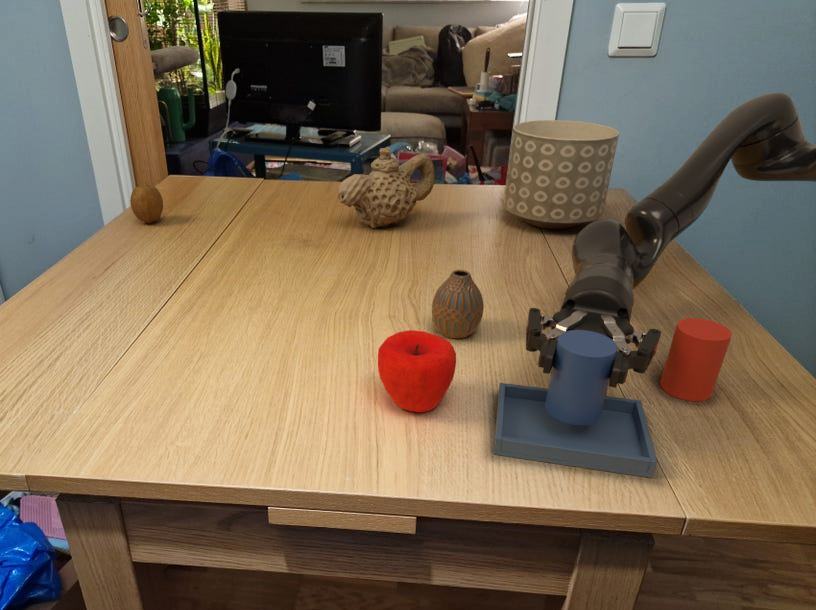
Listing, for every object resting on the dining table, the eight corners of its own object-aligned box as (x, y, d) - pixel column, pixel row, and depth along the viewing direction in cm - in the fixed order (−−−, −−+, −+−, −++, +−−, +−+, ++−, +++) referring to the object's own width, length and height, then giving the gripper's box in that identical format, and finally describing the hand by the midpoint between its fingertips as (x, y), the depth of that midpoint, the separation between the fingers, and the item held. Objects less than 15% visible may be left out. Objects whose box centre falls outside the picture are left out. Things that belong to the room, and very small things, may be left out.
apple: (366, 386, 79) (367, 328, 75) (435, 378, 81) (440, 320, 77) (388, 429, 71) (391, 367, 68) (464, 419, 73) (471, 357, 69)
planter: (536, 203, 145) (550, 116, 136) (618, 224, 132) (638, 130, 123) (482, 221, 134) (493, 128, 125) (565, 245, 122) (583, 144, 113)
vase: (488, 329, 92) (496, 270, 88) (467, 348, 87) (474, 287, 83) (443, 316, 96) (448, 259, 91) (421, 335, 91) (425, 275, 86)
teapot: (353, 241, 124) (354, 159, 116) (324, 223, 132) (324, 146, 125) (445, 224, 132) (452, 147, 125) (413, 209, 141) (417, 136, 134)
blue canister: (598, 399, 71) (614, 333, 67) (603, 428, 67) (620, 360, 63) (544, 392, 72) (556, 327, 68) (545, 420, 68) (558, 352, 64)
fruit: (169, 218, 135) (164, 179, 131) (159, 228, 130) (154, 187, 126) (140, 217, 136) (134, 178, 132) (128, 227, 130) (122, 186, 127)
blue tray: (636, 415, 74) (640, 400, 73) (652, 478, 64) (657, 462, 64) (497, 396, 77) (500, 382, 76) (493, 454, 68) (495, 438, 67)
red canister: (705, 379, 81) (725, 320, 77) (716, 404, 76) (737, 342, 72) (656, 373, 82) (672, 315, 78) (664, 397, 77) (682, 337, 73)
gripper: (655, 344, 77) (650, 421, 64) (530, 321, 82) (501, 388, 69) (672, 285, 73) (670, 353, 60) (540, 265, 78) (511, 324, 65)
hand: (580, 372), depth 65 cm, fingers closed on blue canister, 5 cm apart
